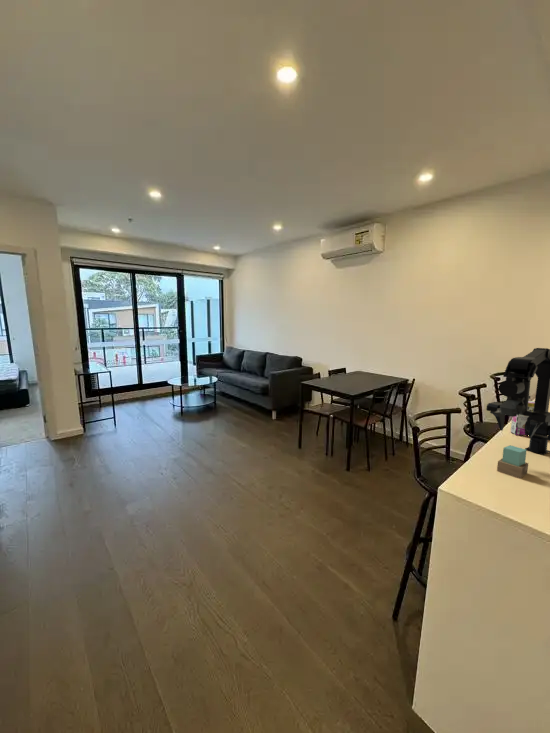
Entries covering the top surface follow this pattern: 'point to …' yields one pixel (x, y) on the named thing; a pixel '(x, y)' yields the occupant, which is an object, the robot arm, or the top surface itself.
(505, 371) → the robot arm
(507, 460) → the teal cube
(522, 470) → the walnut block
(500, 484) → the top surface
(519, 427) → the candy bar box
